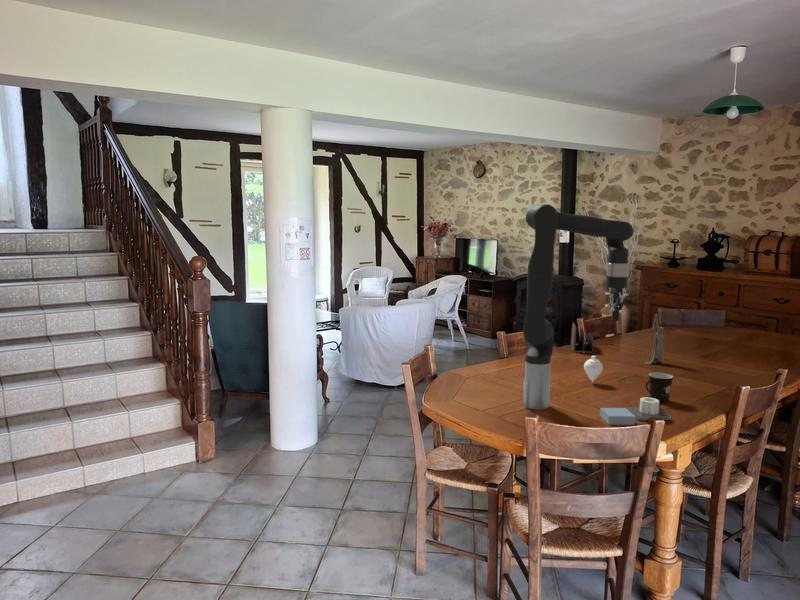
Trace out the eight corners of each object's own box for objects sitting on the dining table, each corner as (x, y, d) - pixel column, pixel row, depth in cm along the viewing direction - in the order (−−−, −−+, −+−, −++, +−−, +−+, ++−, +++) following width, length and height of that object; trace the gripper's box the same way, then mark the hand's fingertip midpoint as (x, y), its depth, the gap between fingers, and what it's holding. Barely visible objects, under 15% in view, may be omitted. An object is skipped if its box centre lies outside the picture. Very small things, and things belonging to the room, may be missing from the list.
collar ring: (653, 415, 199) (654, 403, 198) (637, 411, 203) (637, 399, 203) (660, 411, 203) (661, 400, 202) (644, 407, 207) (644, 396, 207)
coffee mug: (664, 397, 225) (666, 372, 224) (675, 403, 217) (677, 378, 216) (635, 397, 225) (637, 372, 224) (645, 404, 217) (647, 378, 215)
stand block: (608, 424, 194) (608, 416, 194) (599, 415, 203) (600, 407, 203) (634, 424, 194) (635, 416, 194) (625, 416, 203) (625, 408, 203)
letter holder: (573, 352, 303) (574, 327, 302) (570, 345, 323) (571, 320, 321) (593, 353, 301) (594, 327, 299) (589, 346, 321) (590, 321, 319)
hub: (637, 420, 199) (637, 406, 198) (626, 411, 208) (627, 397, 208) (671, 420, 198) (672, 406, 198) (659, 411, 208) (660, 398, 208)
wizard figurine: (657, 366, 273) (661, 315, 270) (641, 363, 280) (644, 313, 277) (669, 363, 279) (673, 313, 276) (653, 360, 286) (656, 311, 283)
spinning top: (589, 386, 241) (591, 358, 239) (579, 381, 248) (580, 354, 246) (605, 384, 243) (606, 357, 241) (594, 380, 250) (596, 353, 248)
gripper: (634, 276, 206) (631, 323, 209) (620, 273, 219) (618, 317, 222) (613, 276, 206) (610, 323, 209) (601, 273, 220) (599, 317, 222)
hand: (614, 320), depth 215 cm, fingers closed
